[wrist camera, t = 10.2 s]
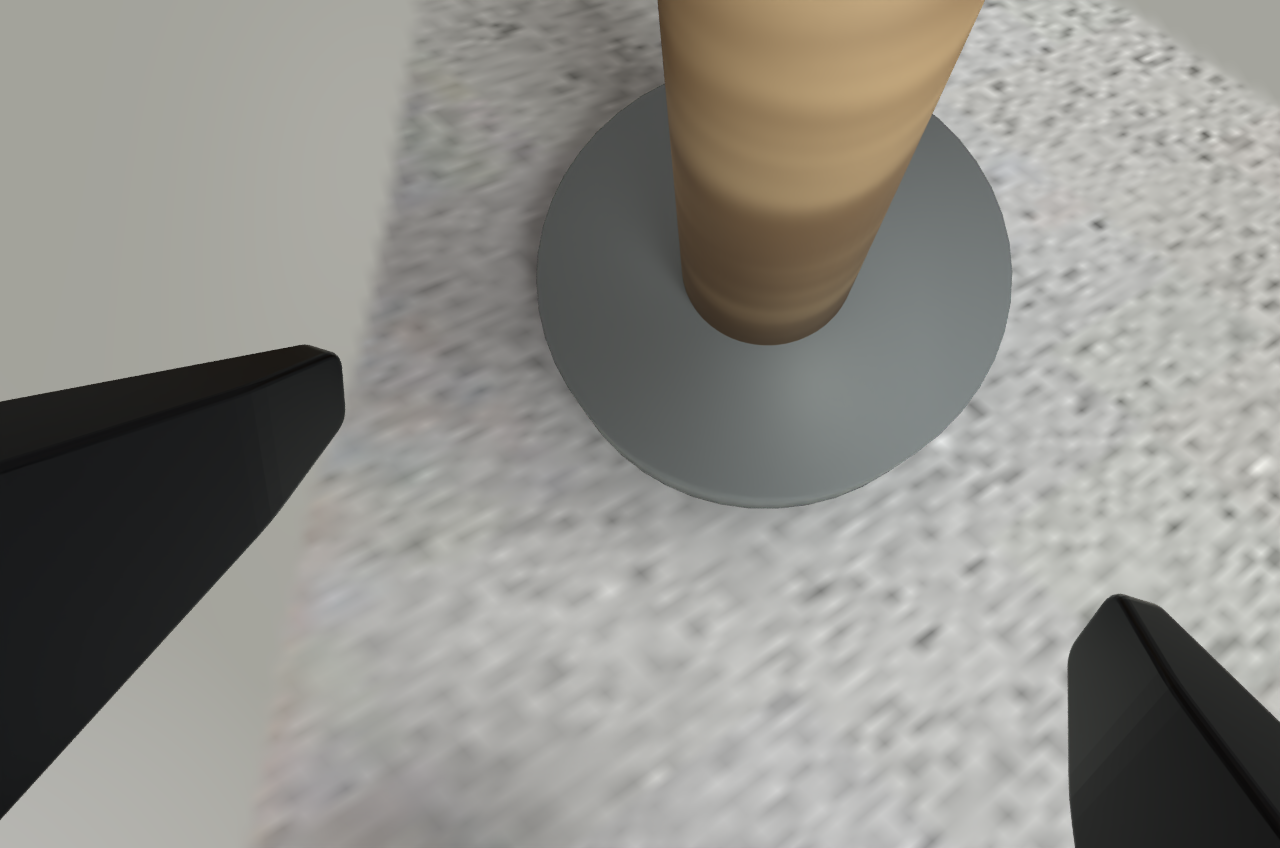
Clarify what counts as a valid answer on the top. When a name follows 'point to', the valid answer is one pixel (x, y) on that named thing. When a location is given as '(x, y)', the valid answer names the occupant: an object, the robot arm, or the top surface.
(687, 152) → the teak pillar
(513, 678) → the top surface
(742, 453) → the grey plinth
